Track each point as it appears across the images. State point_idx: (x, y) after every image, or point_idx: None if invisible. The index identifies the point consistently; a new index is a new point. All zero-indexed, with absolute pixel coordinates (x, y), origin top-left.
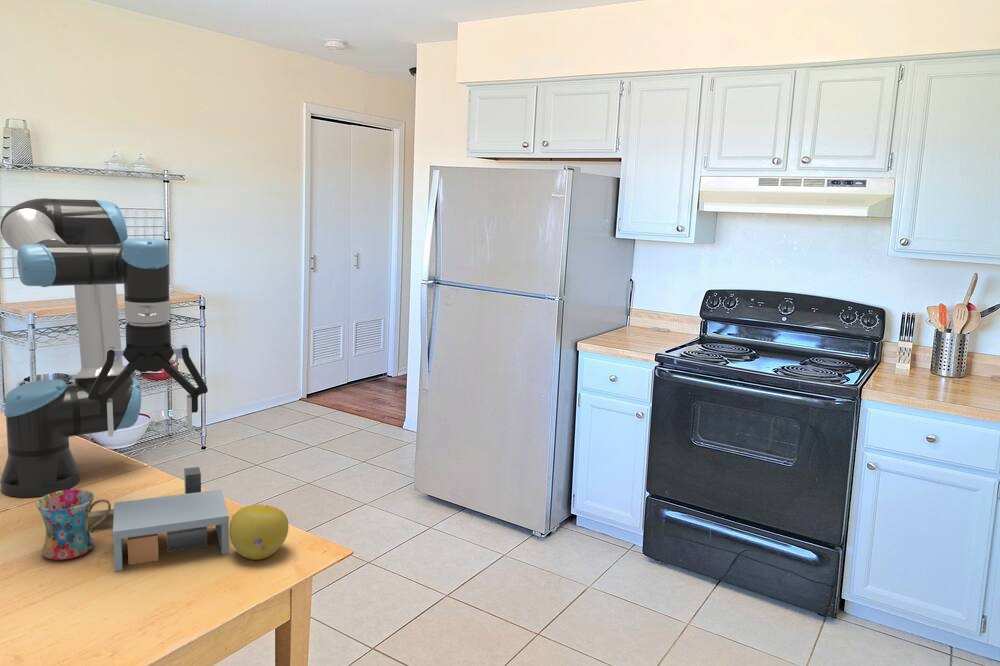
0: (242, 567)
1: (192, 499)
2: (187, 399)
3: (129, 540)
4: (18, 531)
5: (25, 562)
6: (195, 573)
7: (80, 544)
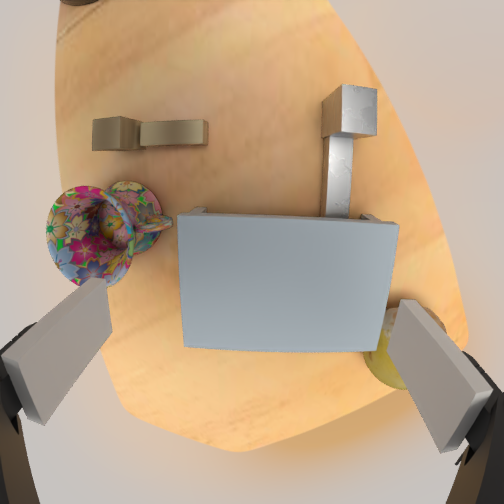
0: (361, 352)
1: (336, 257)
2: (439, 447)
3: None
4: (65, 120)
5: None
6: None
7: (141, 247)
